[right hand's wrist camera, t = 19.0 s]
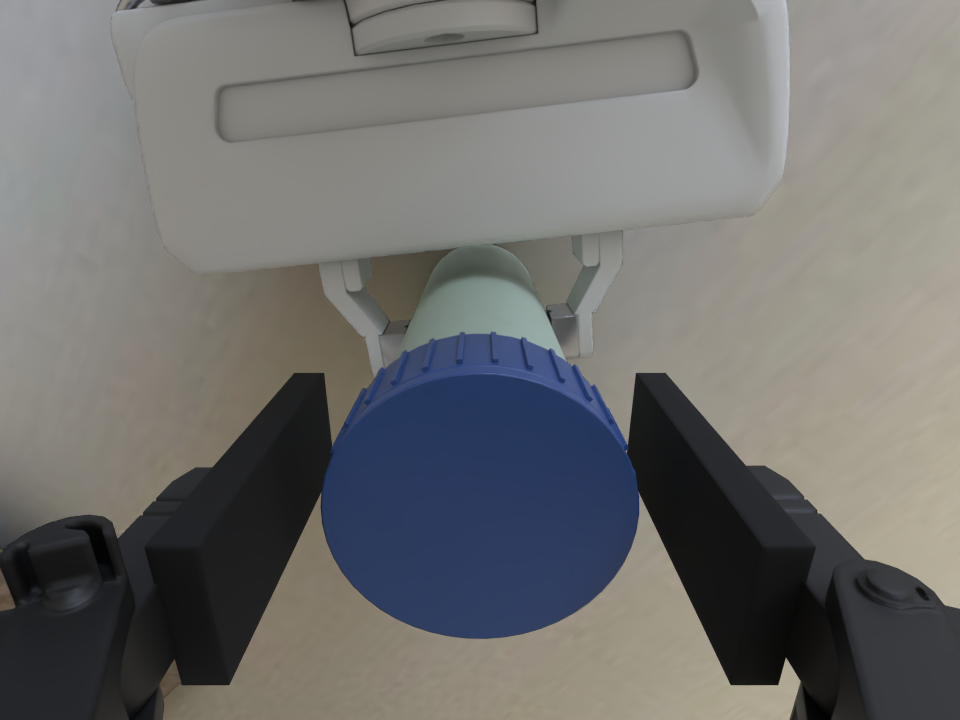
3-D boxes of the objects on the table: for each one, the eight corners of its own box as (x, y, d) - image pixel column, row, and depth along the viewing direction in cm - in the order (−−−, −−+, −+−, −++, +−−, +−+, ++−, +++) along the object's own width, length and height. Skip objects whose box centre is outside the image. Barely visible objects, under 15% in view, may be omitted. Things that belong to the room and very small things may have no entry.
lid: (344, 556, 13) (319, 631, 11) (345, 316, 11) (313, 354, 9) (591, 574, 14) (611, 652, 11) (638, 342, 11) (676, 384, 9)
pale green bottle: (480, 219, 25) (480, 318, 9) (556, 297, 27) (667, 500, 11) (403, 297, 27) (292, 499, 11) (480, 368, 28) (480, 640, 12)
